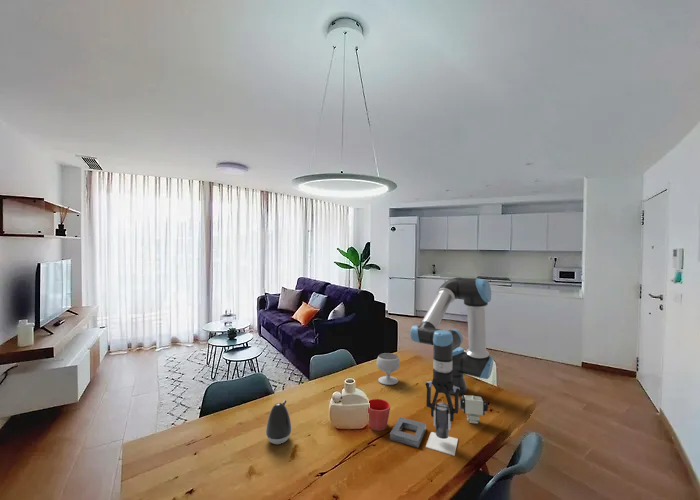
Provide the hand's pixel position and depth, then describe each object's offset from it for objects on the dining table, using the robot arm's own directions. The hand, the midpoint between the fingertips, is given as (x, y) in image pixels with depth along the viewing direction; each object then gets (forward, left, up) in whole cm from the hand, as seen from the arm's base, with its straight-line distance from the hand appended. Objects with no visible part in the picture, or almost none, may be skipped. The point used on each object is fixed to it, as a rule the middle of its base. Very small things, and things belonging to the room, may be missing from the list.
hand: (442, 426), depth 125 cm
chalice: (-46, -39, -7) cm, 61 cm away
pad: (0, 0, -7) cm, 7 cm away
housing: (0, -14, -7) cm, 16 cm away
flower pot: (0, -28, -7) cm, 29 cm away
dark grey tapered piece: (+28, -61, -7) cm, 67 cm away
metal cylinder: (0, 0, -3) cm, 3 cm away
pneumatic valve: (-23, +10, -7) cm, 26 cm away
